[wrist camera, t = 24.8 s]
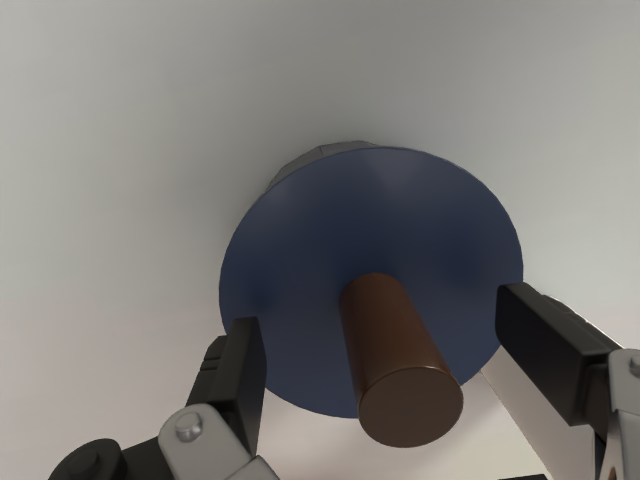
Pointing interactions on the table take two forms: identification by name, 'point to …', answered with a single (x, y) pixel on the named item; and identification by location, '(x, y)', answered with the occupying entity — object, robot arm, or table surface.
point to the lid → (374, 287)
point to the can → (541, 419)
